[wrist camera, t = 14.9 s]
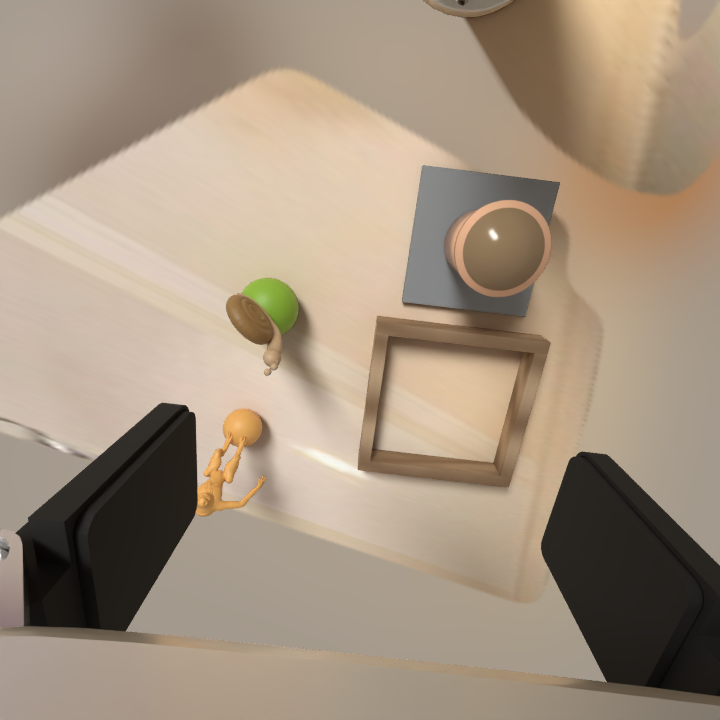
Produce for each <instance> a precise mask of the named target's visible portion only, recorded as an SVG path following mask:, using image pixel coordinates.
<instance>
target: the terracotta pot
mask: <svg viewBox="0 0 720 720" xmlns="http://www.w3.org/2000/svg"><path fill="white" fill-rule="evenodd" d="M550 252H551V234H550V230H549V227H548V224H547V222H546V220H545V219H544V217H543V216H542V215H541V214H540V213H539V211H538V210H536V209H535V208H534V207H532V206H530V205H529V204H527V203H524V202H521V201H516V200H502V201H496V202H492V203H489V204H487V205H485V206H483V207H481V208H479V209H476V210H471V211H468V212H466V213H464V214H462V215H461V216H459V217H458V218H457V219H456V220H455V221H454V222H453V223H452V224H451V225H450V227H449V229H448V230H447V233H446V235H445V239H444V254H445V258H446V260H447V262H448V264H449V265H450V266H451V268H452V269H453V270H454V271H456V272H457V273H459V275H460V277H461V278H462V279H463V281H464V282H465V283H466V284H467V285H468V286H469V287H471V288H472V289H474V290H475V291H477V292H479V293H481V294H483V295H486V296H491V297H505V296H510V295H514V294H516V293H519V292H521V291H523V290H524V289H526V288H528V287H529V286H530V285H531V284H533V283H534V282H535V281H536V280H537V279H538V277H539V276H540V275H541V274H542V272H543V270H544V269H545V267H546V265H547V263H548V260H549V257H550Z"/></svg>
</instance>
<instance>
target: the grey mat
mask: <svg viewBox="0 0 720 720" xmlns="http://www.w3.org/2000/svg"><path fill="white" fill-rule="evenodd" d="M559 185H560V182H552V181H544V180H536V179H528V178H519V177H511V176H504V175H496V174H488V173H480V172H473V171H465V170H457V169H449V168H441V167H433V166H425V165H423V166H422V172H421V179H420V185H419V192H418V199H417V205H416V212H415V218H414V225H413V231H412V238H411V244H410V251H409V257H408V264H407V271H406V277H405V284H404V290H403V297H402V302H407V303H415V304H424V305H432V306H440V307H448V308H457V309H465V310H473V311H481V312H490V313H498V314H506V315H515V316H523V317H525V315H526V311H527V307H528V303H529V300H530V296H531V292H532V288H533V284H534V283H533V284H531V285H530V286H529V287H528V288H526V289H524V290H523V291H521V292H519V293H516V294H514V295H510V296H505V297H491V296H486V295H483V294H481V293H479V292H477V291H475V290H474V289H472V288H471V287H469V286H468V285H467V284H466V283H465V282H464V281H463V279H462V278H461V277H460V275H459V273H457V272H456V271H454V270H453V269H452V268H451V266H450V265H449V264H448V262H447V260H446V258H445V254H444V239H445V235H446V233H447V230H448V229H449V227H450V225H451V224H452V223H453V222H454V221H455V220H456V219H457V218H458V217H459V216H461V215H462V214H464V213H466V212H468V211H471V210H476V209H479V208H481V207H483V206H485V205H487V204H489V203H492V202H496V201H502V200H516V201H521V202H524V203H527V204H529V205H530V206H532V207H534V208H535V209H536V210H538V211H539V213H540V214H541V215H542V216H543V217H544V219H545V220H546V222H547V224H548V227H549V223H550V219H551V216H552V212H553V208H554V204H555V200H556V196H557V192H558V189H559Z"/></svg>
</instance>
